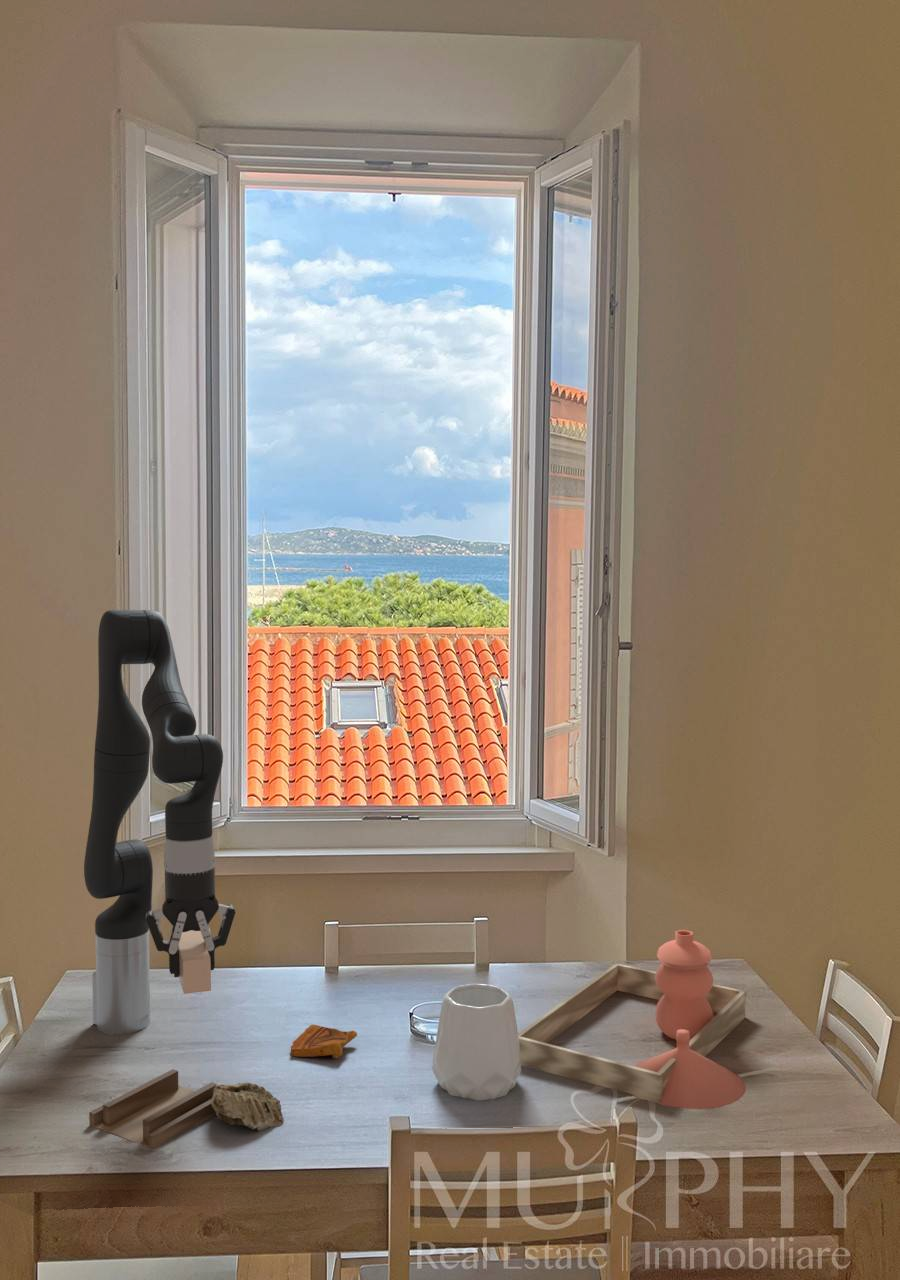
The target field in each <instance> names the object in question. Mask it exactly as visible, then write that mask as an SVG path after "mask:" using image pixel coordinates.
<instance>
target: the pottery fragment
mask: <svg viewBox="0 0 900 1280" xmlns="http://www.w3.org/2000/svg"><path fill="white" fill-rule="evenodd" d="M357 1036H358V1032H357V1031H356V1030H349V1031H342V1030H339V1029H337V1028H331V1027H327V1026H321V1025H317V1024H310V1025H309V1026H308V1027H307V1028H305V1030H304V1031H303V1032H302V1033H301V1034H300V1035H299V1036H298V1037H297V1038H296V1039H294V1041H293V1042H292V1045H291V1046H290V1053H291V1054H290V1055H291V1056H292V1057H300V1058H301V1057H303V1058H305V1057H307V1058H308V1057H309V1058H310V1057H323V1056H324V1057H325V1056H331V1057H332V1058H333V1059H338V1058H340V1057H341V1056H343V1051H344V1049H343V1048H345V1046H346V1045H348V1044H349V1043H350V1042H351V1041H352V1040H354V1039H355V1038H356V1037H357Z"/></svg>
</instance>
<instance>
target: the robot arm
mask: <svg viewBox="0 0 900 1280" xmlns="http://www.w3.org/2000/svg"><path fill="white" fill-rule="evenodd" d="M97 639H98V641H97V642H98V646H97V648H98V649H97V651H98V652H97V653H98V655H97V656H98V658H97V659H98V661H97V662H98V701H97V702H98V703H97V704H98V705H97V706H98V707H97V718H96V730H95V743H94V753H93V754H94V758H93V785H92V786H93V787H92V788H93V789H92V801H91V802H92V803H91V813H90V821H89V827H88V834H87V838H86V839H87V841H86V845H85V846H86V847H85V853H84V863H83V876H84V882H85V888H86V889H87V892H88V893H89V894H90V896H91V897H93V898H94V899H96V900H97V899H98V900H100V899H101V900H103V899H110V898H115V897H118V898H117V899H116V900H115V901H114V902H113V904H111V905H110V906H109V907H108V908H107V909H105V910H103V911H102V912H101V913H99V914H98V915H97V916H96V919H95V922H94V930H95V931H94V933H95V939H94V940H95V971H94V972H93V973H92V977H91V978H92V981H91V982H92V1020H93V1021H92V1022H93V1023H92V1024H93V1025H94V1024H95V1026H96V1027H97V1030H98V1029H99V1030H100V1031H99V1030H98V1031H99V1032H101V1031H102V1033H104V1032H106V1033H105V1034H109V1033H114V1034H113V1035H125V1034H124V1033H126V1034H131V1032H132V1033H135V1032H136V1033H137V1032H139V1031H142V1030H144V1029H146V1028H148V1026H149V1025H151V1024H150V1023H151V984H150V983H151V981H150V980H151V979H150V978H151V975H150V971H151V970H150V934H151V937H152V941H153V943H154V945H155V947H156V950H157V951H158V952H165V953H167V954H168V961H169V962H168V965H169V967H168V968H169V969H168V970H169V974H170V975H172V974H173V976H174V977H173V978H179V954H178V950H177V948H178V945H179V941H180V939H181V935H182V932H188V931H190V930H193V931H201V934H202V937H203V939H204V942H205V945H206V947H207V950H208V953H209V956H210V962H211V971H214V970H215V950H216V949H217V948H219V947H223V946H225V945H226V944H227V941H228V938H229V934H230V932H231V928H232V925H233V922H234V919H235V915H236V909H235V906H234V904H232V903H231V904H227V905H225V904H222V903H219V902H218V899H217V897H216V869H215V868H216V867H215V866H216V865H215V864H216V857H215V855H216V854H215V845H214V837H213V805H214V801H215V797H216V796H215V795H216V790H217V786H218V783H219V780H220V776H221V772H222V770H223V768H222V767H223V763H224V751H223V748H222V745H221V742H220V741H219V740H218V738H217V737H216V736H214V735H212V734H209V733H207V734H206V733H204V734H202V733H201V734H195V732H196V729H197V720H196V716H195V714H194V712H193V710H192V708H191V706H190V703H189V701H188V699H187V696H186V694H185V691H184V689H183V686H182V682H181V678H180V674H179V667H178V664H177V657H176V654H175V649H174V645H173V644H174V643H173V640H172V637H171V632H170V629H169V626H168V622H167V620H166V619H165V617H164V615H162V613H160V612H159V611H156V610H152V609H151V610H150V609H110V610H109V609H108V610H106V611H105V612H104V613H103V614H102V615H101V618H100V621H99V625H98V638H97ZM148 664H151V665H152V664H153V666H154V670H153V672H152V674H151V675H150V677H149V679H148V681H146V682H147V683H146V685H145V687H144V688H143V691H142V695H141V706H142V712H143V714H144V717H145V720H146V722H147V724H148V726H149V727H148V728H149V730H150V733H151V737H150V733H149V731H148V729H147V727H146V725H145V723H144V722H143V719H142V718H141V716H140V715H139V713H138V712H137V711H136V709H135V707H134V705H133V703H131V700H130V698H129V697H128V694H127V692H126V690H125V687H124V683H123V679H122V667H123V666H122V665H148ZM151 739H152V753H151V754H152V755H151V757H152V758H151V765H152V766H151V767H152V771H153V773H154V776H155V777H156V778H157V779H158V780H159V781H161V782H162V783H164V784H182V783H191V782H194V784H193V786H192V788H191V789H190V790H189V791H188V792H186V793H184V794H182V795H179V796H176V797H173V798H171V799H169V800H168V801H167V802H166V804H165V808H164V809H165V810H164V818H165V819H164V821H165V824H164V825H165V842H164V849H163V850H164V852H163V853H164V858H163V859H164V860H163V865H164V866H163V867H164V897H165V898H164V899H165V900H164V902H163V904H162V906H161V908H159V909H156V910H152V909H153V908H152V906H153V905H152V904H153V903H152V901H153V881H154V880H153V878H154V877H153V876H154V874H153V873H154V871H153V870H154V868H153V858H152V854H151V852H150V849H149V847H148V846H147V844H146V843H145V842H144V841H142V840H141V839H137V838H136V839H128V840H122V841H119V842H117V839H118V834H119V830H120V826H121V823H122V821H123V819H124V817H125V815H126V814H127V812H128V810H129V808H130V807H131V806H132V804H133V803H134V801H135V799H136V798H137V797H138V795H139V794H140V791H141V790H142V788H143V786H144V784H145V782H146V780H147V778H148V774H149V767H150V752H151ZM217 912H219V917H220V920H221V924H220V926H219V930H218V934H217V935H216V936H214V937H213V936H212V932H211V929H210V925H209V924H210V922H211V921H212V920H213V918H214V916H216V914H217ZM162 917H164V918H166V920H168V922H169V923H170V924H171V925H172V929H171V933H170V934H171V935H170V938H169V941H168V940H165V939H164V936H163V934H162V931H161V929H160V925H161V924H162ZM143 1028H144V1029H143ZM141 1029H142V1030H141Z"/></svg>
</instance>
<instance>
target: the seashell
mask: <svg viewBox="0 0 900 1280" xmlns="http://www.w3.org/2000/svg"><path fill="white" fill-rule="evenodd" d="M212 1107H213V1108H214V1110H215V1111H216V1114H215V1115H216V1116H217V1117H218V1118H219V1119H220V1121H222V1122H225V1123H228V1124H230V1126H231V1125H232V1126H235V1125H236V1126H246V1127H248V1128H250V1130H257V1131H258V1132H260V1131H263V1130H265V1129H268V1128H273V1127H278V1126H282V1125H284V1121H285V1119H284V1116H283V1113H282V1105H281V1100H279V1099H277V1097H274V1096H273V1094H272V1093H271V1091H268V1090H266V1088H265V1087H264V1086H259V1085H258V1084H256V1083H250V1082H238V1083H235V1084H223V1083H222V1084H217V1085H216V1086H215V1088H214V1091H213V1098H212Z"/></svg>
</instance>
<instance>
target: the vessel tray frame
mask: <svg viewBox="0 0 900 1280" xmlns="http://www.w3.org/2000/svg"><path fill="white" fill-rule="evenodd" d="M656 972H657V971H655V970H649V969H644V968H639V967H635V966H631V965H630V966H629V965H625V964H620V963H614V964H613V965H612V966H610V967H609V968H607V969H606V970H604V971H602V973H600V974H598V975H597V976H596V977H595V978H593V979H592V980H590V981H589V982H588V983H586V984H585V985H583V986H582V987H581V988H579V989H578V990H577V991H575V992H574V993H572V994H571V995H569V996H568V997H566V998H565V999H564V1000H563V1001H562V1002H560V1003H559V1004H557V1005H556V1006H553V1008H551V1009H550V1010H548V1011H547V1012H546V1013H544V1014H543V1015H542V1016H540V1017H539V1018H538V1019H536V1020H535V1021H534V1022H532V1023H531V1024H529V1025H528V1026H526V1027H525V1028H524V1029H522V1030H521V1031H518V1037H519V1045H520V1054H521V1067H525V1068H528V1069H533V1070H537V1071H541V1072H545V1073H547V1074H548V1073H549V1074H553V1075H557V1076H561V1077H565V1078H568V1079H572V1080H576V1081H579V1082H584V1083H588V1084H591V1085H595V1086H600V1087H603V1088H608V1089H611V1090H612V1089H613V1090H615V1091H620V1092H622V1093H623V1092H624V1093H626V1094H627V1093H628V1094H630V1095H631V1096H634V1097H633V1098H635V1097H636V1098H635V1099H639V1098H640V1100H643V1101H646V1100H649V1101H648V1102H650V1101H652V1102H651V1103H654V1102H655V1104H657V1103H660V1101H661V1098H662V1096H663V1093H664V1090H665V1088H666V1085H667V1083H668V1080H669V1078H670V1075H671V1072H672V1070H673V1067H674V1065H675V1062H676V1059H674V1058H672V1059H671V1060H669V1061H668V1062H667V1063H666V1064H665V1065H664V1066H663V1067H662V1068H661V1069H660V1070H659V1071H658V1072H654V1071H650V1070H646V1069H642V1068H639V1067H635V1065H630V1064H627V1063H624V1062H623V1063H622V1062H619V1061H615V1060H611V1059H608V1058H604V1057H600V1056H596V1055H593V1054H589V1053H584V1052H581V1051H577V1050H573V1049H569V1048H565V1047H563V1046H560V1045H559V1046H558V1045H554V1044H550V1043H549V1042H551V1041H552V1040H554V1039H555V1038H557V1037H559V1035H560V1034H562V1033H563V1032H565V1031H566V1030H567V1029H569V1028H570V1027H571V1026H573V1025H574V1024H575V1023H578V1021H579V1020H581V1019H582V1018H584V1017H585V1016H586V1015H587V1014H589V1013H590V1012H591V1011H592V1010H594V1009H595V1008H597V1007H598V1006H599V1005H601V1003H603V1002H605V1000H607V999H608V998H610V997H611V996H612V995H613V994H615V993H616V992H617V991H618V992H623V993H627V994H631V995H636V996H640V997H645V998H649V999H653V1000H657V1001H659V1000H660V999H661V997H662V996H663V995H665V994H664V993H662V992H661V991H660V989H659V988H658V986H657V984H656V979H655V975H656ZM704 997H705V998H706V999H707V1001H708V1002H709V1004H710V1006H711V1008H712V1011H713V1014H716V1015H715V1016H713V1019H712V1020H711V1021H710V1022H709V1023H708V1024H707V1025H706V1026H704V1027H703V1028H702V1029H701V1030H700V1031H699V1032H698V1033H697V1034H696V1035H695V1036H694V1037H693V1038H692V1039H691V1040H690V1042H689V1049H691V1050H693V1051H694V1052H696V1053H698V1054H700V1055H702V1056H704V1057H707V1055H708V1054H709V1053H710V1052H712V1050H713V1049H714V1048H715V1047H716V1046H717V1045H718V1044H719V1043H721V1041H722V1040H724V1039H725V1038H726V1037H727V1036H728V1035H729V1034H730V1033H731V1032H732V1031H733V1030H734V1029H735V1028H736V1027H737V1026H738V1025H739V1024H740V1023H741V1022H742V1021H743V1020H744V1019H745V1018H746V1008H747V1007H746V1003H747V991H746V990H741V989H738V988H732V987H728V986H724V985H723V986H722V985H719V984H715V983H713V986H712V988H711V990H710V991H709V993H708V994H707V995H705V996H704ZM631 1096H630V1097H631ZM644 1099H645V1100H644Z"/></svg>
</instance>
